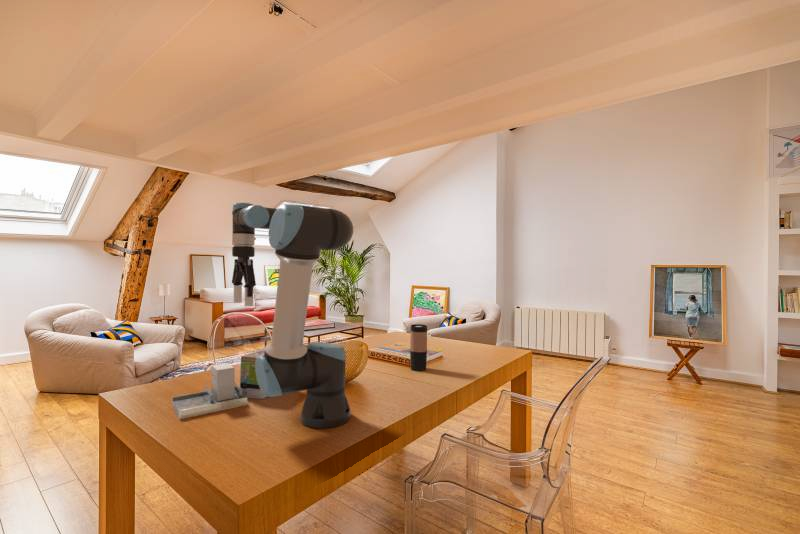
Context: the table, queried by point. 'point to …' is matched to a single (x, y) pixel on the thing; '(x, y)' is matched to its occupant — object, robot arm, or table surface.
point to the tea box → (250, 375)
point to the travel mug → (418, 347)
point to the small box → (222, 381)
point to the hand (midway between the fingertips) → (243, 304)
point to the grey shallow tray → (205, 403)
